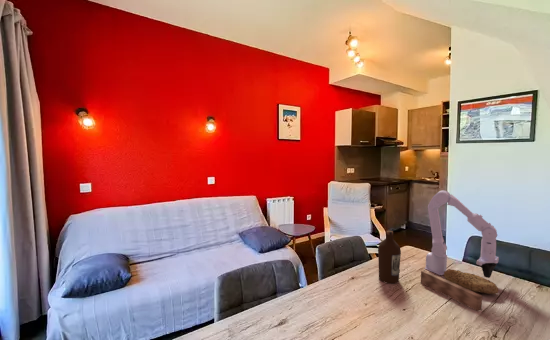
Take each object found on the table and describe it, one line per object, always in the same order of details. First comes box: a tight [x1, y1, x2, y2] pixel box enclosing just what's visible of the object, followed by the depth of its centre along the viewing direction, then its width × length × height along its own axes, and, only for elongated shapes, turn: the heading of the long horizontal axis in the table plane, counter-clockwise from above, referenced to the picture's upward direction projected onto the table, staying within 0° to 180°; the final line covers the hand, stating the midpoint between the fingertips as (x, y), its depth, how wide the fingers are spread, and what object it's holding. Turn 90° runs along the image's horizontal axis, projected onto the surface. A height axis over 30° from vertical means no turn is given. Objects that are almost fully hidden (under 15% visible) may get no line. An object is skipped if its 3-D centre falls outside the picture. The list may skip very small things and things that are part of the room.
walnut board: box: [420, 269, 483, 312], centre depth 120 cm, size 26×2×6 cm, turn 23°
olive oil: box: [377, 230, 402, 285], centre depth 135 cm, size 11×11×25 cm
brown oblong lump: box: [443, 268, 499, 295], centre depth 127 cm, size 13×8×20 cm
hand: (487, 276), depth 132 cm, fingers closed
